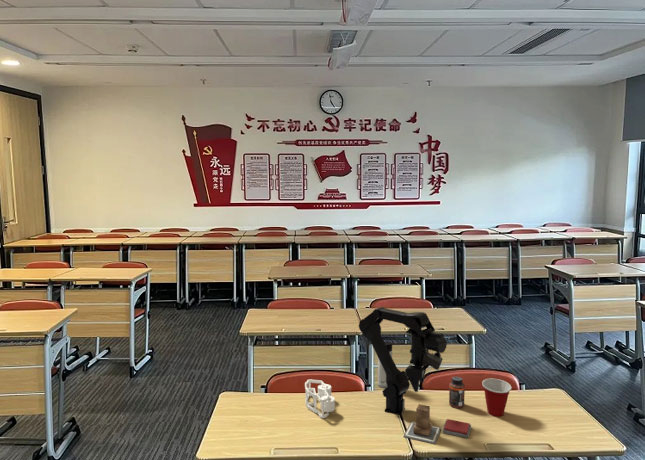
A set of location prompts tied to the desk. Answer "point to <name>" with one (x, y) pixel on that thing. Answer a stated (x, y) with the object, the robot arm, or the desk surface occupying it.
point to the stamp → (422, 421)
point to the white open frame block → (320, 397)
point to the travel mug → (381, 371)
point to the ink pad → (457, 428)
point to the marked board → (430, 439)
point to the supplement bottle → (456, 392)
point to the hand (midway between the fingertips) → (418, 386)
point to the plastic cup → (496, 395)
